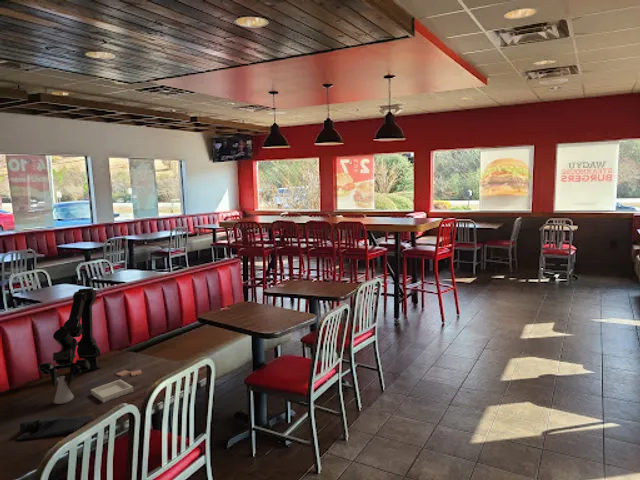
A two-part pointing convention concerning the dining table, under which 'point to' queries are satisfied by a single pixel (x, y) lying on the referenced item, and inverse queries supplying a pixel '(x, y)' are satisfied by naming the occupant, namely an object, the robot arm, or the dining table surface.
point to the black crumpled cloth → (50, 426)
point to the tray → (112, 390)
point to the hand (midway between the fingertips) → (61, 386)
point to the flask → (62, 392)
